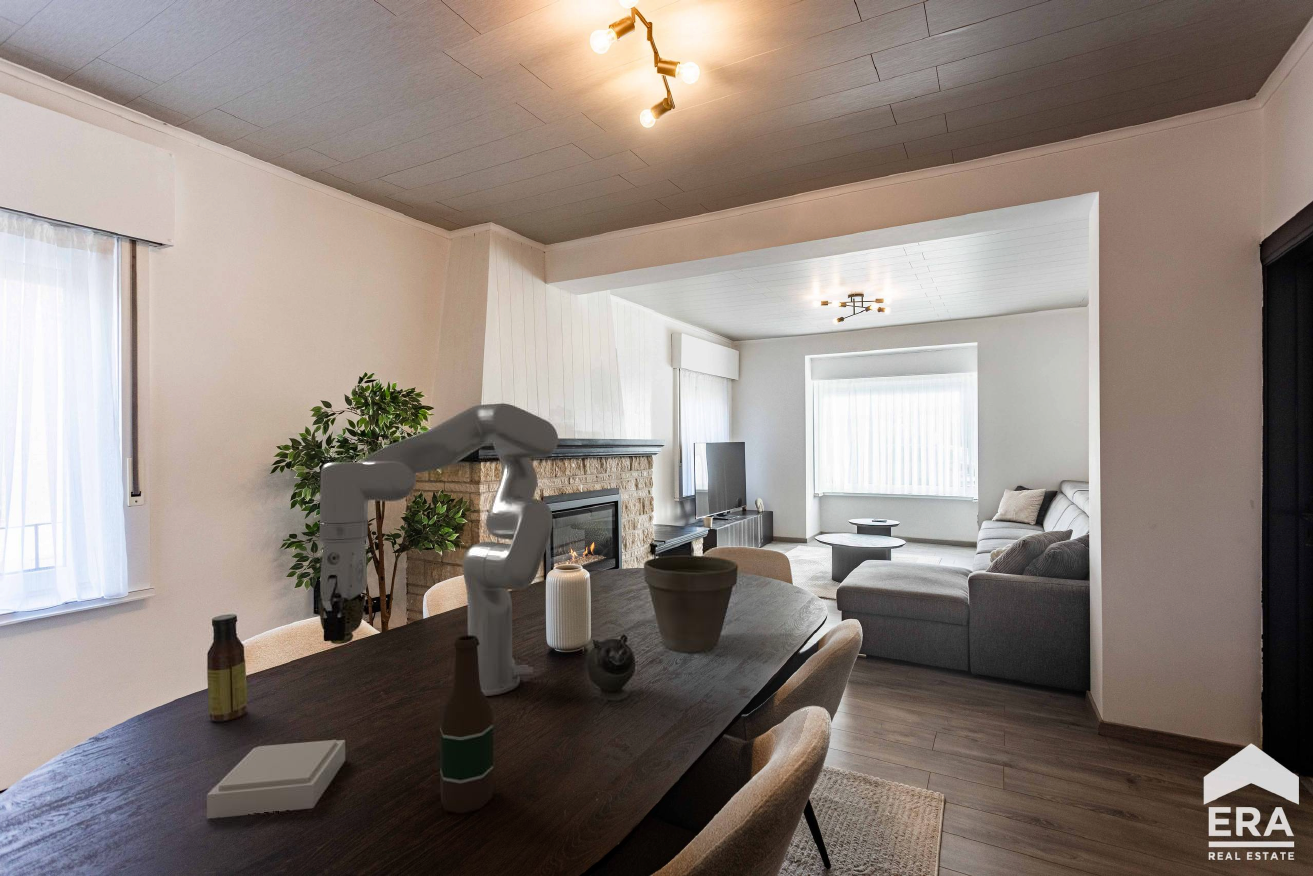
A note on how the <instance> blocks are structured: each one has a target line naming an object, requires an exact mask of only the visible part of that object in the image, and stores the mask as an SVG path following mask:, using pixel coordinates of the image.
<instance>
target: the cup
mask: <svg viewBox="0 0 1313 876" xmlns="http://www.w3.org/2000/svg"><path fill="white" fill-rule="evenodd" d="M366 596H367V594H366V593H363V594H362V593H360V594H359V595H358V596H357V597H356V598H353V599H351V600H347V598H346V600H345V603H344V612H343V616H345V639H344V640H342V641H330V643H331V644H334V645H342V644H347V643H350V642H351V641H352V640H353V639H354V634H353V632H355V631H356V630H358V629H359V628H360V626H361V624H362V621H363V617H364V610H365V602H366ZM334 598H341V597H340V596H334ZM317 601H318V610H319V612H318V613H319V618H320V625H321V628H322V630H323V631H324V616H323V615H324V609H323V603H322V598H321V596H320V597H319V598H318V599H317ZM336 604H337V606H338V608H339V602H338V603H336Z"/></svg>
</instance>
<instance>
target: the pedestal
mask: <svg viewBox="0 0 1313 876" xmlns="http://www.w3.org/2000/svg"><path fill="white" fill-rule="evenodd" d="M345 761H346V739H341V740H337V739H331V740H317V741H306V742H304V741H303V742H296V743H285V744H284V743H281V744H272V745H271V744H270V745H269V744H268V745H258V746H257V747H253V749H251V750H250V751H249V753H248V754H246V756H245V757H244V758H243V759H241V760H240V761H239V762H238V763H237V764H236V765H235V766H234V767H233V769H231V770H230V771H229V772H228V773H227V774H226V776H223V778H222V779H221V780H220V781H219V782H218V783H217V784H216V785H215V786H214V787H213V788H212V789H211V790H210V791H209V792H208V793H207V795H206V819H207V820H209V819H210V818H211V819H219V818H220V819H221V818H227V817H228V818H230V817H238V816H249V815H248V814H250V815H255V814H254V813H260V814H265V813H264V812H269V813H276V812H275V811H279V812H287V811H286V810H289V811H297V810H298V811H299V810H306V809H313V808H314V807H316V804H317V803H318V801H319V800H320V798H321V796H322V795H323V794H324V793H325V791H326V789H327V788H328V787H329V786H330V784H331V783H332V781H333V779H334V778H335V776H336V775H337V773H338V772H339V770H340V768H341V767H342V766H343V765H344V763H345ZM273 811H274V812H273ZM218 817H219V818H218Z"/></svg>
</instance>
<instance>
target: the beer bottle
mask: <svg viewBox="0 0 1313 876" xmlns="http://www.w3.org/2000/svg"><path fill="white" fill-rule="evenodd" d="M478 645H479V641H478V638H477V637H476V636H471V635H468V634H467V635H461V636H458V637H457V638H454V642H453V647H454V649H455V653H454V655H455V656H454V671H453V684H452V689H451V693H450V695H449V696H448V698H447V700H445V703H444V705H443V707H442V710H441V713H440V724H439V725H440V726H439V762H440V763H439V768H440V769H439V770H440V771H439V778H440V779H439V782H440V783H439V786H440V789H439V790H440V801H441V803H442V806H443V809H444V811H446V812H450V813H456V814H461V815H462V814H465V813H469V812H473V811H477V810H480V809H482V808H483V807H484V806H486V804H487V803H488V802H490V801H491V799H492V798H493V796H494V716H493V709H492V708H491V704H490V702H489V700H488V698H487V696H485V695H484V694H483V692H482V691H481V686H480V680H479V665H478V650H477V646H478Z"/></svg>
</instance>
